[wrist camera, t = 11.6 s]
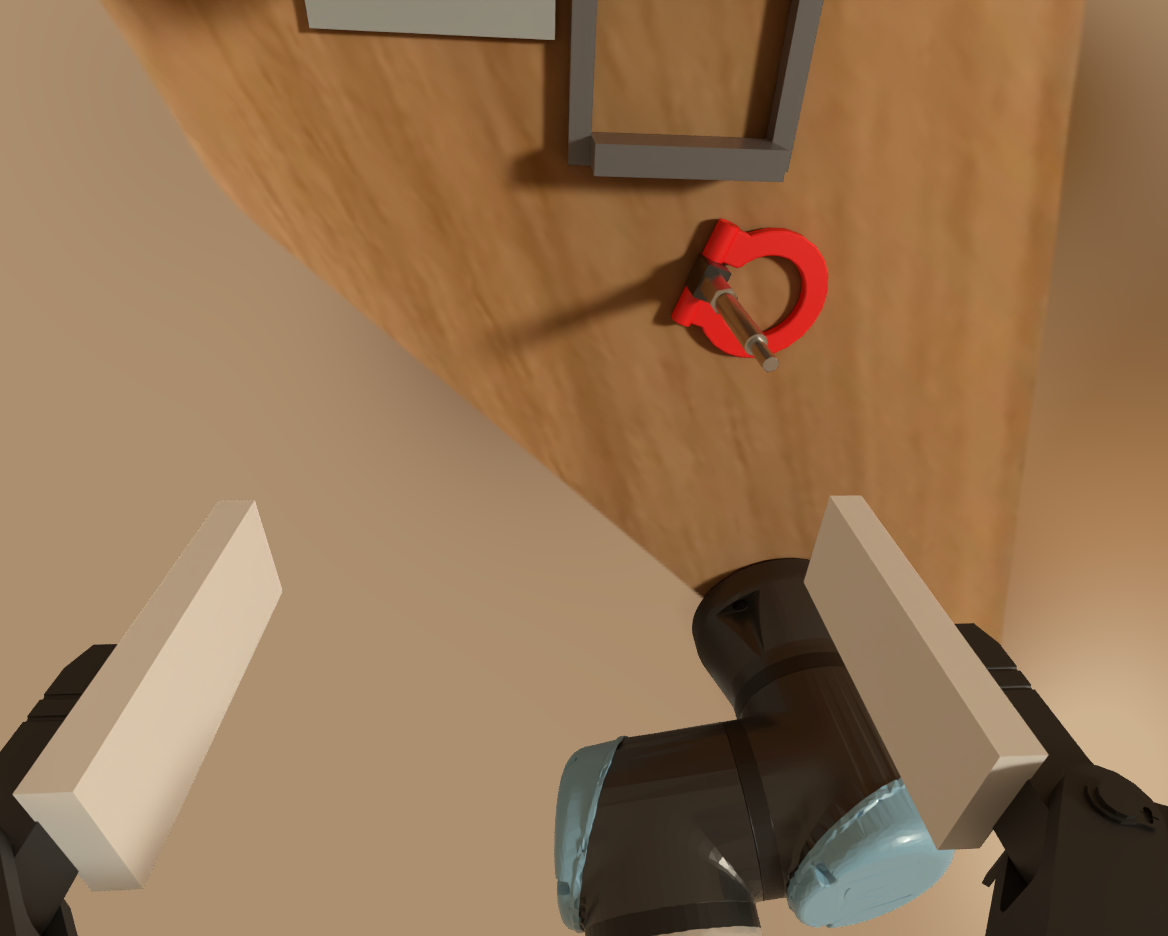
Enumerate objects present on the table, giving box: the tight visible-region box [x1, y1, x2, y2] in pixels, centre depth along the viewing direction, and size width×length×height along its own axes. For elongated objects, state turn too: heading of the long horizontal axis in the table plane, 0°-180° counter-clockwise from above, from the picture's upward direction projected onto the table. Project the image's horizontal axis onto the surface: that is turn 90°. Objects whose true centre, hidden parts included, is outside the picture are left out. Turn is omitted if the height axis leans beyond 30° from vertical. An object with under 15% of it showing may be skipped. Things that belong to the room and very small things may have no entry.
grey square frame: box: [567, 0, 823, 182], centre depth 32 cm, size 11×12×4 cm
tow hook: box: [671, 218, 828, 372], centre depth 36 cm, size 8×13×9 cm
